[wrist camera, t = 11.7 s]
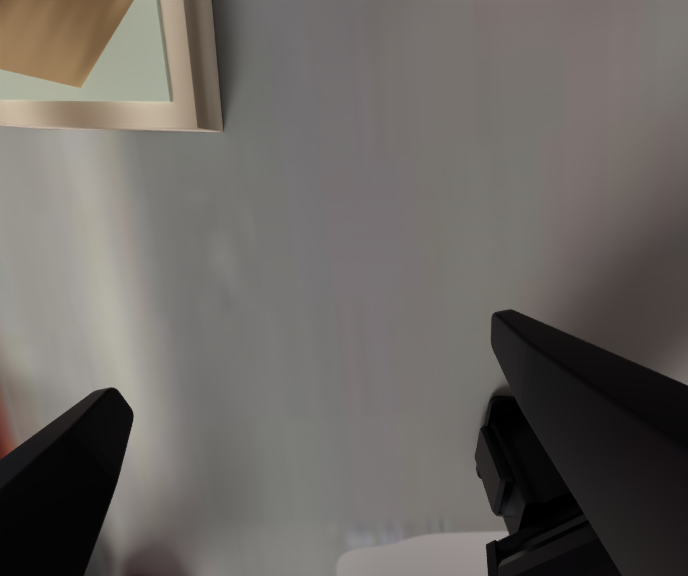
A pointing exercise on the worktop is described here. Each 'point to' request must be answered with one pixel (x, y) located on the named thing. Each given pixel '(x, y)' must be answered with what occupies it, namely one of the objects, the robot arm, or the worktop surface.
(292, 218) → the worktop surface
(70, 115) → the plinth
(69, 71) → the oak block
